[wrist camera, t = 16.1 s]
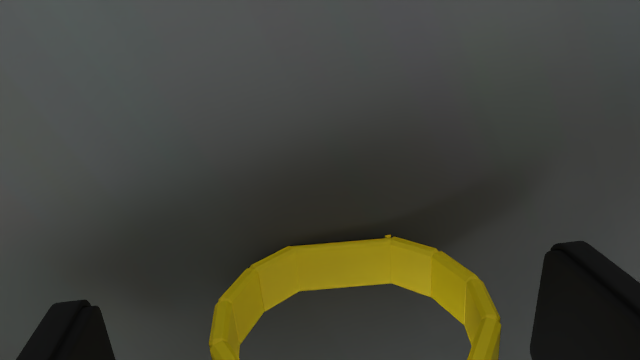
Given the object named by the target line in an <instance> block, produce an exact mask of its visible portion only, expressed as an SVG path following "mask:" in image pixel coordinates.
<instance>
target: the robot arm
mask: <svg viewBox="0 0 640 360" xmlns="http://www.w3.org/2000/svg"><path fill="white" fill-rule="evenodd" d="M530 354H531V358H532V360H640V283H639V282H638V281H636V280H635V279H634V278H633V277H631V276H630V275H629V274H627V273H626V272H625V271H623V270H622V269H621V268H619V267H618V266H617V265H615V264H614V263H613V262H612V261H610V260H609V259H608V258H606V257H605V256H604V255H602V254H601V253H600V252H598V251H597V250H596V249H594V248H593V247H592V246H591V245H589V244H588V243H586V242H584V241H575V242H566V243H558V244H555V245H553V247H552V248H551V251H549V252H547V253H546V254H545V257H544V262H543V268H542V275H541V281H540V287H539V293H538V300H537V306H536V312H535V319H534V325H533V331H532V338H531V344H530ZM16 360H115V357H114V354H113V350H112V347H111V344H110V340H109V337H108V333H107V330H106V327H105V323H104V320H103V316H102V313H101V310H100V308H99V307H98V306H91V304H90V303H89V302H88V301H87V300H77V301H69V302H60V303H55V304H53V305H52V306H51V307H50V309H49V310H48V312H47V313H46V315H45V316H44V318H43V319H42V321H41V322H40V324H39V325H38V327H37V328H36V330H35V331H34V333H33V335H32V336H31V338H30V339H29V341H28V342H27V344H26V345H25V347H24V348H23V350H22V351H21V353H20V354H19V356H18V357H17V359H16Z"/></svg>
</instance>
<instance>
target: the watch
mask: <svg viewBox="0 0 640 360" xmlns="http://www.w3.org/2000/svg"><path fill="white" fill-rule="evenodd" d="M390 283H392V284H395V285H398V286H400V287H403V288H406V289H409V290H411V291H414V292H417V293H420V294H423V295H425V296H428V297H431V298H433V299H434V300H435V301H436V302H438V303H439V304H440V305H441V306H442V307H443V308H445V309H446V310H447V311H448V312H449V313H450V314H451V315H453V316H454V317H455V318H456V319H457V320H458V321H460V322H461V323H462V324H463V325H464V326H465V329H466V332H467V335H468V337H469V340H470V343H471V346H472V347H471V350H470V353H469V356H468V359H467V360H498V357H499V345H500V332H501V324H500V316H499V314H498V312H497V310H496V308H495V306H494V303H493V301H492V299H491V297H490V295H489V293H488V291H487V289H486V287H485V285H484V283H483V281H481V280H480V279H478V276H477V275H475V274H474V273H472V272H471V271H470V270H468V269H467V268H465V267H464V266H462V265H461V264H460V263H458V262H457V261H455V260H454V259H452V258H451V257H450V256H448V255H447V254H445V253H444V252H442V251H440V252H439V251H438V250H437V249H436V248H433V247H429V246H426V245H423V244H419V243H416V242H412V241H409V240H405V239H402V238H398V237H395V236H394V237H392V238H391V235H385V238H381V239H370V240H358V241H346V242H335V243H323V244H311V245H300V246H287V247H285V248H283V249H281V250H279V251H278V252H276V253H274V254H272V255H270V256H268V257H266V258H264V259H262V260H260V261H258V262H256V263H254V264H252V265H251V266H250V268H247V269H246V270H245V271H244V272H243V273H242V274H241V275H240V276H239V277H238V278H237V280H236V281H235V282H234V283H233V284H232V285H231V286H230V287H229V288H228V290H227V291H226V292H225V293H224V294H223V295H222V296H221V297H220V298H219V300H218V301H219V302H218V303H217V304H216V305H215V309H214V315H213V321H212V327H211V333H210V339H209V347H210V353H211V357H212V360H240V359H239V349H240V344H241V343H242V342H243V340H244V339H245V337H246V336H247V335H248V333H249V332H250V331H251V329H252V328H253V326H254V325H255V324H256V322H257V321H258V320H259V318H260V317H261V316H262V314H263V313H264V312H265V311H267V310H269V309H270V308H272V307H274V306H275V305H277V304H279V303H280V302H282V301H284V300H286V299H287V298H289V297H291V296H292V295H294V294H296V293H297V292H299V291H308V290H320V289H331V288H343V287H355V286H367V285H379V284H390Z"/></svg>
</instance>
